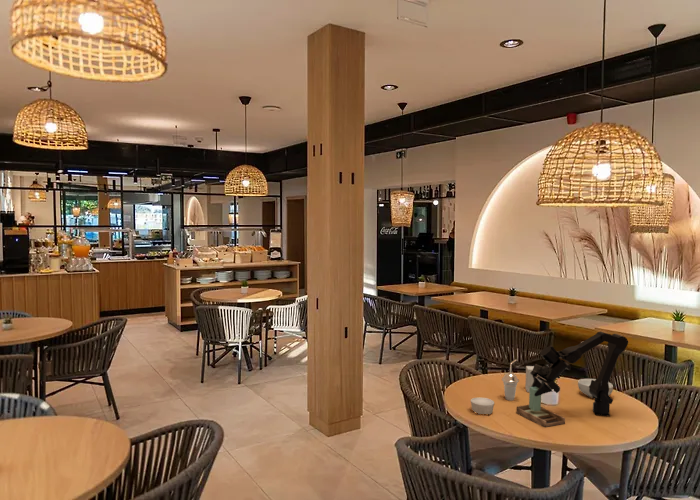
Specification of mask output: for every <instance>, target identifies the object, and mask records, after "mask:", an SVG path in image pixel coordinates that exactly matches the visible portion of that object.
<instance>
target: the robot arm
mask: <svg viewBox="0 0 700 500" xmlns="http://www.w3.org/2000/svg"><path fill="white" fill-rule="evenodd" d="M604 342H606V343H607V348H608V349H607V350H608V351H607V354H606V355H605V358H604V362H603V364H602V367H601V369H600V372H599V373H598V377H597V378H595V379H596V380H595V381H594V380H592V381H591V384H590V386H589V392H590V394H591V395H592V397H593V398H592V397H591V398H592V399H594V401H593V402H592V412H593V413H594V415H595V416H604V417H611V415H610V407H611V406H610V405H612V403H613V401H614V399H613V398H612V397H611V395H608V393H609V384H608V383H610V379H611V377H612V374H613V372H614V369H615V366H616V364H617V361H618V359H619V356H620V355H621V354H622V353H623V352H625V351H626V349H627V347H628V345H629V340H628V338H627V337H625V336H624V335H621V334H618V333H612V334H611V333H607V332H603V331H598V332H596V333H595V334H594V335H592V336H590V337H588V338H586V339H585V340H583V341H582V342H580V343H578V344H577V345H572V346H568V347H565V348H563V349H562V350H558V351H557V350H556V349H555V347H554V346H553V345H549V346H547V347H545V348H544V347H543V349H541V351H540V353H539V355H540V356H541V357H542V358H543V359H544V360H545V361H546V362H547V363H548V364H549V365H550V366H547V365H546V366H545V365H543V366H542V365H539V364H537V363H535V364H534V365H533V366H534V368H533V370H532V371H531V372H530V374H531V375H532V376H533V379H534V382H533V384H532V386H531V387H538V388H539V389H538V390H537V392H536V393H535V394H534V395H535V396H539V395H541V396H542V395H545V394H547V393H551V392H555V393H556V394H559V392H560V391H561V387H560V386H559V385H558V383H556V382H555V381H556V379H558V380H559V379H561V376H560V375H561V374H562V373H564V371H565V370H568V371H571V370H572V368H571V364H574V363H577V362H578V361H579V360H580V359H581V358H582V356H583V355H584V354H585V353H588V351H591V350H592V349H594V348H596V347H597V346H599V345H601V344H602V343H604Z"/></svg>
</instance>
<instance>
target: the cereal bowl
mask: <svg viewBox="0 0 700 500" xmlns="http://www.w3.org/2000/svg"><path fill="white" fill-rule="evenodd" d="M596 379H597V378H580V379H578V380H577V388H578V390H580V392H581V393H583V394H584V395H586V396H587V397H588V398H592V399H594V398H593V397H592V395H591V394H590V392H589V386H590V384H591V381H592V380H594V381H595V380H596ZM608 384H609V393H608V395H609V396H611V394H612V393H613V390H614V386H613V383H611V382H609V383H608Z"/></svg>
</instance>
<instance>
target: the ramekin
mask: <svg viewBox="0 0 700 500" xmlns="http://www.w3.org/2000/svg"><path fill="white" fill-rule="evenodd" d="M470 405H471V406H470V407H471V410H473V411H474V412H476V413H478V414H477V415H480V414H489V415H491V414H492V413H493V412H494V406H495V401H494V400H492V399H490V398H488V397H473V398H471V399H470ZM473 411H472V412H473ZM474 412H473V413H474ZM476 413H475V414H476Z"/></svg>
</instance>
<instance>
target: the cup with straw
mask: <svg viewBox="0 0 700 500" xmlns="http://www.w3.org/2000/svg"><path fill="white" fill-rule="evenodd" d="M516 361H517V359H514V360H512V361H511V362H510V363H509V364H510V365H509V366H510V367H509V372H507V373H505V374H504V376H503V377H501V381H502V383H503V386H504V387H503V388H504V389H503V390H504V399H505V400H507V401H515V397H516V390H517V386H518V383H520V380H519V378H518V376H517V375H516V374H515V373H513V372H512V365H513V364H514V363H515V362H516Z"/></svg>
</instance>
